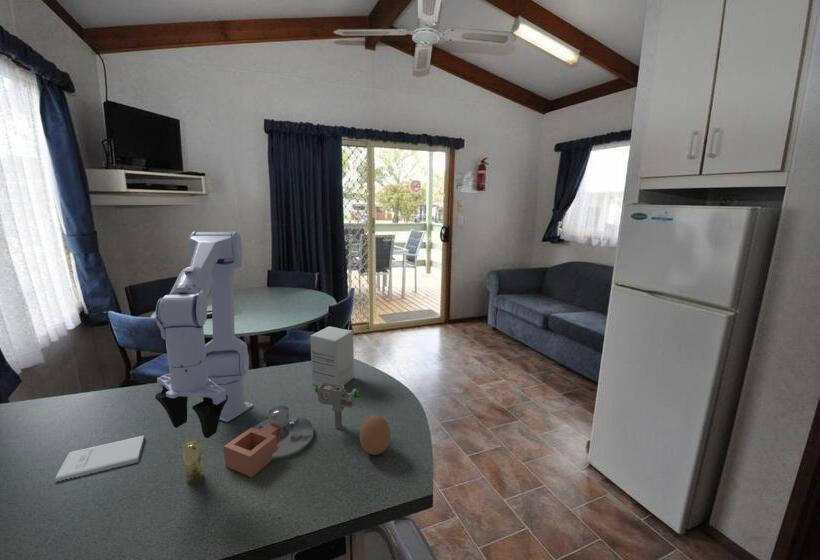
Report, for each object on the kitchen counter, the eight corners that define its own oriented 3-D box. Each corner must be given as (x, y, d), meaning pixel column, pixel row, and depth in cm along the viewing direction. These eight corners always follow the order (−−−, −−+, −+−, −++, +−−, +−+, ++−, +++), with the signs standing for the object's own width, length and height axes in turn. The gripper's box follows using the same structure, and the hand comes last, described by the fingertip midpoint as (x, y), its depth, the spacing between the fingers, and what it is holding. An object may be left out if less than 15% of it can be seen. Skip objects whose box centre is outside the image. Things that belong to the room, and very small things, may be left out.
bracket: (225, 466, 72) (223, 446, 72) (263, 437, 81) (262, 419, 80) (251, 477, 70) (250, 456, 69) (288, 446, 79) (287, 427, 78)
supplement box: (329, 371, 113) (328, 325, 110) (354, 377, 110) (354, 330, 107) (310, 384, 105) (309, 335, 102) (337, 391, 102) (336, 340, 99)
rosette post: (230, 448, 78) (228, 419, 76) (278, 414, 90) (277, 388, 89) (282, 468, 72) (281, 437, 71) (325, 429, 85) (325, 402, 84)
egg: (383, 465, 74) (383, 429, 72) (354, 458, 76) (354, 422, 74) (394, 446, 80) (395, 411, 78) (367, 439, 82) (367, 405, 80)
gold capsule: (182, 480, 69) (178, 447, 67) (196, 470, 71) (192, 438, 70) (193, 485, 68) (189, 451, 66) (206, 475, 70) (203, 442, 69)
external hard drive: (139, 464, 73) (56, 485, 68) (145, 440, 80) (70, 457, 75) (138, 457, 73) (54, 477, 67) (144, 434, 80) (69, 450, 74)
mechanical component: (356, 433, 84) (356, 393, 82) (314, 427, 86) (313, 387, 84) (361, 426, 86) (361, 387, 84) (320, 420, 88) (319, 381, 86)
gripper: (136, 362, 64) (146, 432, 67) (197, 378, 59) (205, 453, 61) (174, 347, 70) (182, 412, 73) (233, 361, 65) (238, 429, 68)
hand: (195, 429), depth 68 cm, fingers open, 7 cm apart
